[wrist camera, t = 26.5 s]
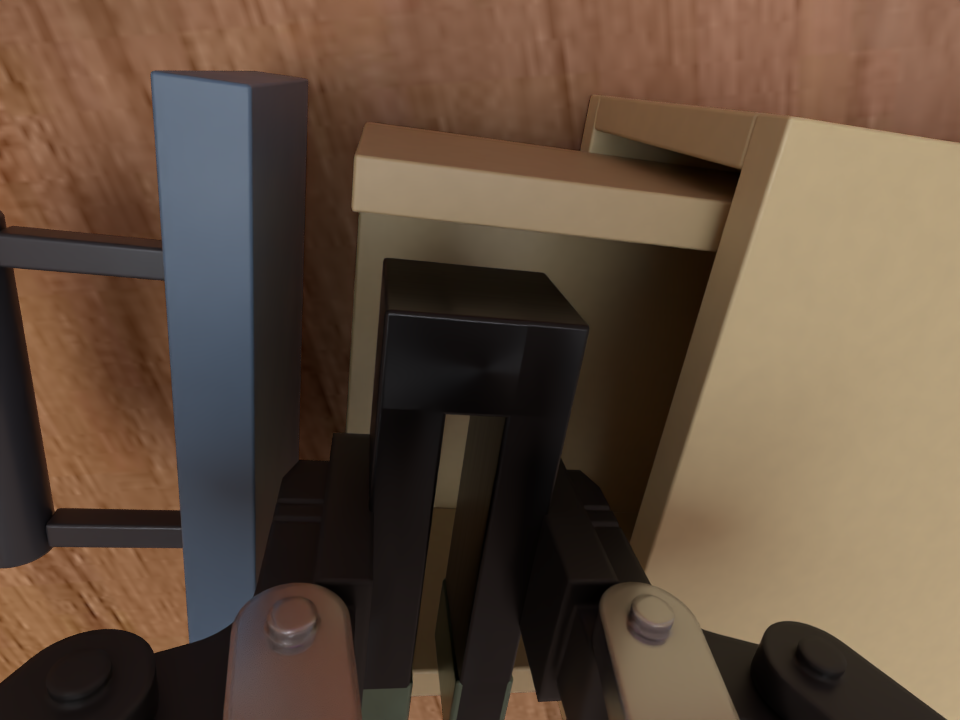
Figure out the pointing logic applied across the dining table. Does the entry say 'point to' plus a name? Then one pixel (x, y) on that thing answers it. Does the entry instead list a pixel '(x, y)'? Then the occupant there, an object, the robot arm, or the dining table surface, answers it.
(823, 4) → the dining table surface
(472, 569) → the black rectangular block
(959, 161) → the cabinet
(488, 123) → the dining table surface
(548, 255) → the drawer
